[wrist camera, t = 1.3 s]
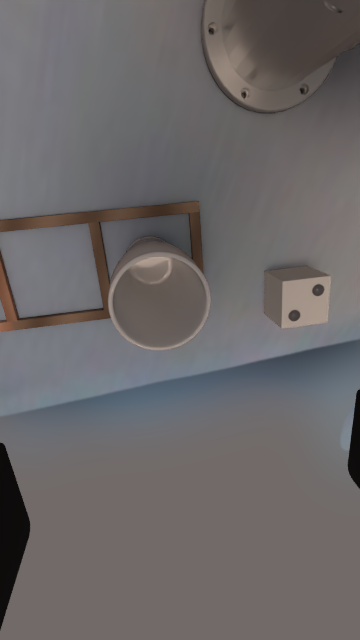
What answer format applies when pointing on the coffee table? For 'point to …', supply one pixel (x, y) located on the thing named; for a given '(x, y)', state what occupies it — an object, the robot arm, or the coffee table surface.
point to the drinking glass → (158, 295)
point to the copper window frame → (3, 290)
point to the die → (296, 296)
